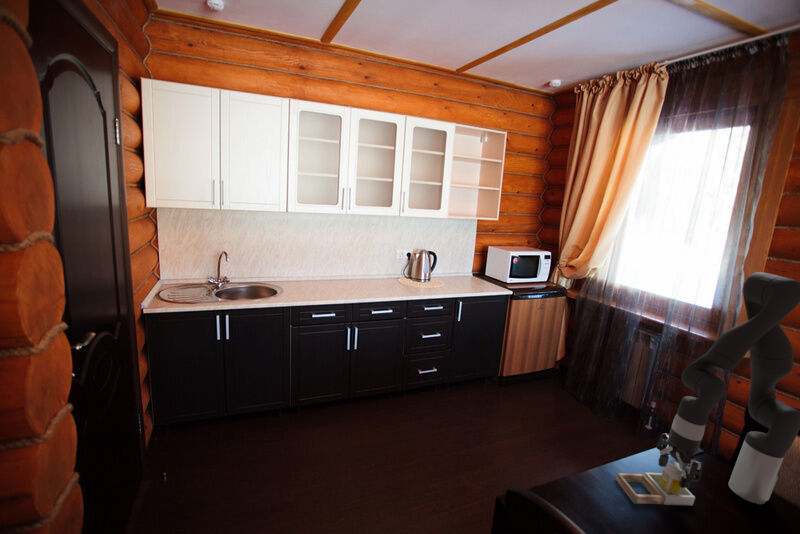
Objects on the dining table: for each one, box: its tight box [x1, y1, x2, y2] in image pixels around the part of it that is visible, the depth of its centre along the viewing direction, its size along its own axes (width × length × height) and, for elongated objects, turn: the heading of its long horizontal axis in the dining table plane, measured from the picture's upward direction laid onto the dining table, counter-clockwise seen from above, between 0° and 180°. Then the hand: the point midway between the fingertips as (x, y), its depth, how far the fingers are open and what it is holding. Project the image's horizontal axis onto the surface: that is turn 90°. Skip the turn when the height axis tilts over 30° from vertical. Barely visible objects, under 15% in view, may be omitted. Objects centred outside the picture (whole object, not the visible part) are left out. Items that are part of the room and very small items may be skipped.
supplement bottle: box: [658, 460, 683, 495], centre depth 118 cm, size 5×5×10 cm
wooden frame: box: [615, 472, 664, 505], centre depth 118 cm, size 9×9×2 cm
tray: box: [643, 472, 696, 506], centre depth 119 cm, size 9×9×3 cm
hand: (672, 476), depth 118 cm, fingers open, 8 cm apart
